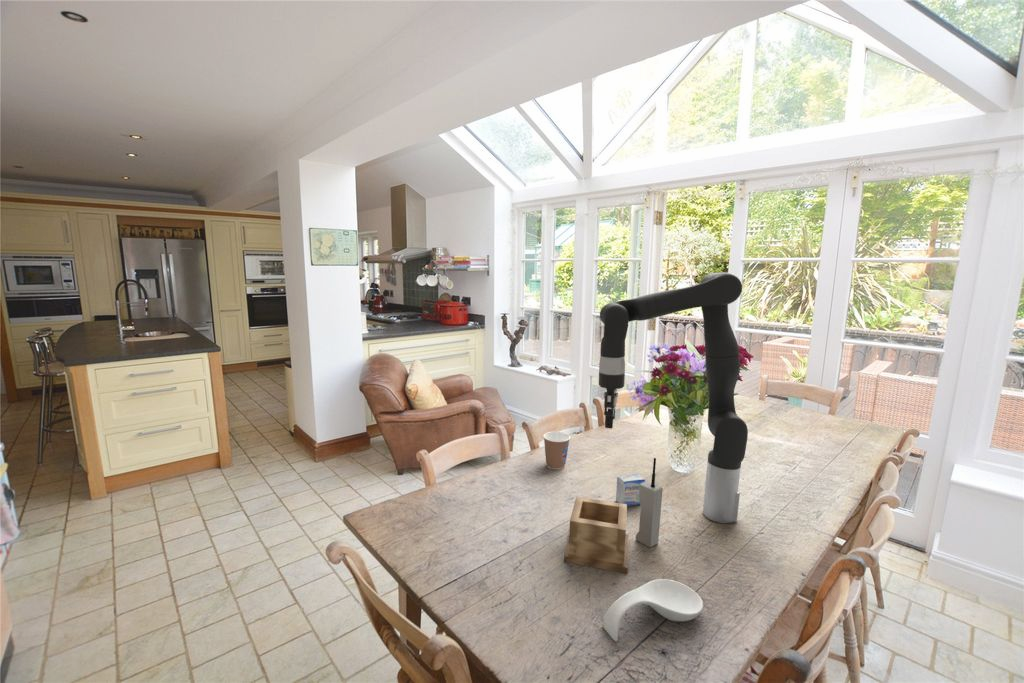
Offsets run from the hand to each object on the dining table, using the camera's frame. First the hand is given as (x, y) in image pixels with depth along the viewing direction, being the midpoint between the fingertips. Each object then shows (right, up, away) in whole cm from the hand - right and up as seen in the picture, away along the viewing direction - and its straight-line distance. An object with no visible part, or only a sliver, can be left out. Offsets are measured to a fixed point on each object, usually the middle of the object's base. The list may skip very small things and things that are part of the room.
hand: (609, 423), depth 136 cm
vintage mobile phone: (+8, -32, -10) cm, 34 cm away
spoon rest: (+1, -36, -37) cm, 52 cm away
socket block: (-6, -32, -14) cm, 35 cm away
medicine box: (+9, -28, +12) cm, 32 cm away
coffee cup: (-13, -24, +38) cm, 46 cm away
